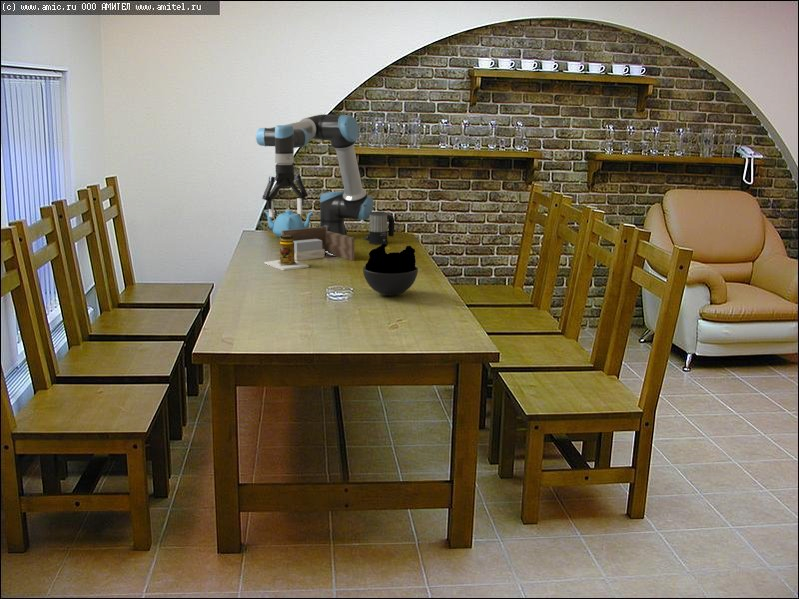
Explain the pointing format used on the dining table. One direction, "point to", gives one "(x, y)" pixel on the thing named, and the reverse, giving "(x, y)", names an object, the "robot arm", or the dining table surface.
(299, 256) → the block
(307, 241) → the offcut top
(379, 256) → the bowl of black rocks
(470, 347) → the dining table surface
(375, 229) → the milk frother
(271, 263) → the pad
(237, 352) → the dining table surface
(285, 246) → the condiment
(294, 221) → the teapot
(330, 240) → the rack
